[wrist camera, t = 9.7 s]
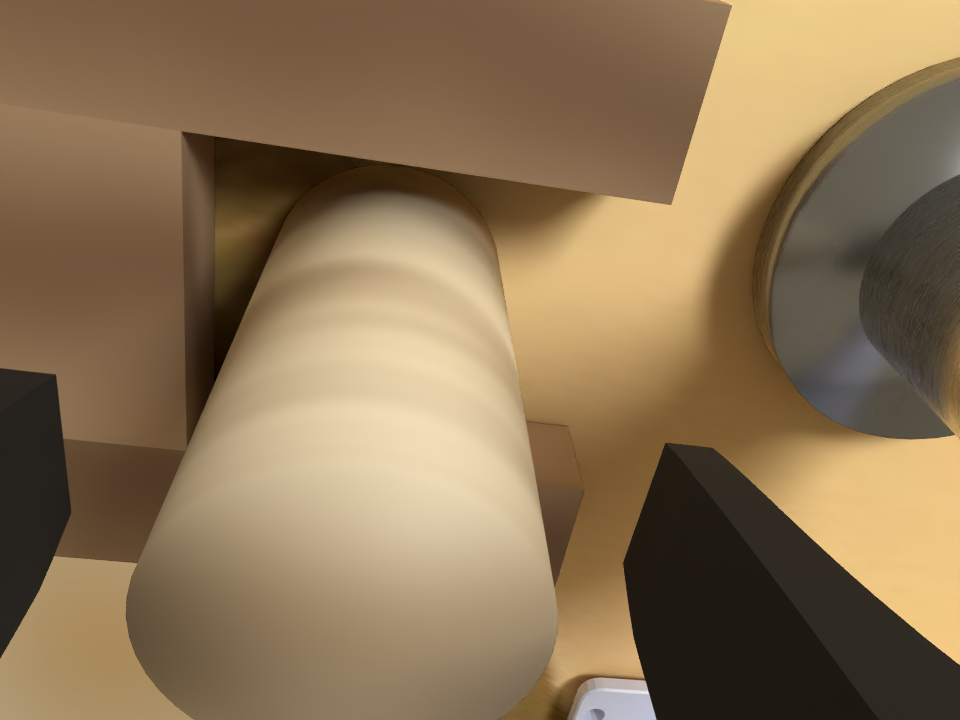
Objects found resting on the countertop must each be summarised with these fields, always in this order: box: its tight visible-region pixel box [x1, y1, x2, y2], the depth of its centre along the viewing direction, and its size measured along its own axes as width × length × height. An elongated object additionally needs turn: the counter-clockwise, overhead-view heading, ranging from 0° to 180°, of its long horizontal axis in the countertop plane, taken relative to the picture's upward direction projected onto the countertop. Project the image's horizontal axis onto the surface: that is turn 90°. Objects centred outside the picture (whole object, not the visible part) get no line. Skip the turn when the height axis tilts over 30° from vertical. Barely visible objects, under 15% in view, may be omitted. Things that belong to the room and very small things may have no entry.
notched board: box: [0, 0, 732, 588], centre depth 13 cm, size 11×12×2 cm
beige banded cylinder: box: [126, 165, 558, 720], centre depth 11 cm, size 4×4×8 cm
